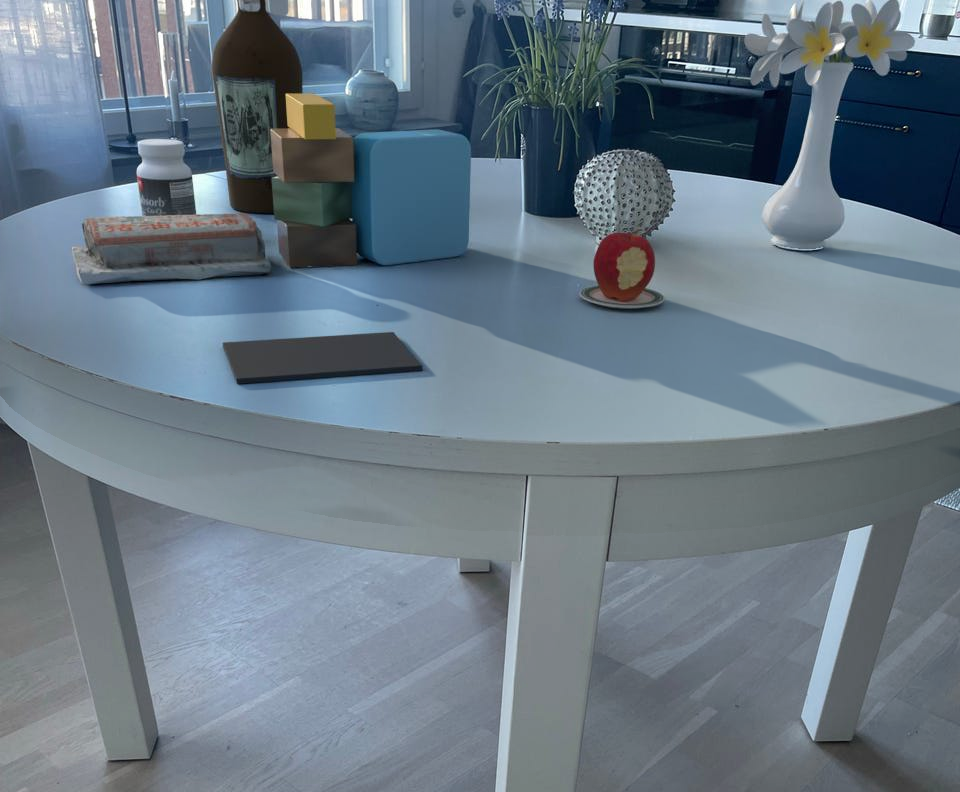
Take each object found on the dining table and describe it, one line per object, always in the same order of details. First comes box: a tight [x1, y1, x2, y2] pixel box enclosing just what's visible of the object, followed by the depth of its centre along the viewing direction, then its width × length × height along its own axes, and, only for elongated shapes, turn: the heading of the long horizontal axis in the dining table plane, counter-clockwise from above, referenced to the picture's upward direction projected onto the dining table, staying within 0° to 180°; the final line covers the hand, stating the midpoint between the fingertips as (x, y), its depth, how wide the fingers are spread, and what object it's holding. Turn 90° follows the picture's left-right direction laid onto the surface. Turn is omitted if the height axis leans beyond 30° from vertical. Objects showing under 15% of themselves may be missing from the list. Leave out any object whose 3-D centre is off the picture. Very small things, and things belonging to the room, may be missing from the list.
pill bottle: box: [136, 138, 197, 216], centre depth 109 cm, size 6×6×10 cm
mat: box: [222, 331, 423, 385], centre depth 79 cm, size 14×9×1 cm, turn 108°
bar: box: [286, 93, 336, 140], centre depth 100 cm, size 3×10×3 cm, turn 18°
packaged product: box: [71, 212, 272, 286], centre depth 100 cm, size 18×5×10 cm
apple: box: [579, 228, 665, 310], centre depth 95 cm, size 8×8×6 cm
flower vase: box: [743, 0, 916, 249], centre depth 113 cm, size 13×18×25 cm
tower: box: [270, 127, 358, 269], centre depth 104 cm, size 8×8×12 cm
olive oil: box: [211, 0, 304, 215], centre depth 123 cm, size 11×11×25 cm
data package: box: [351, 128, 472, 267], centre depth 106 cm, size 12×4×12 cm, turn 125°
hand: (263, 13), depth 99 cm, fingers open, 8 cm apart
